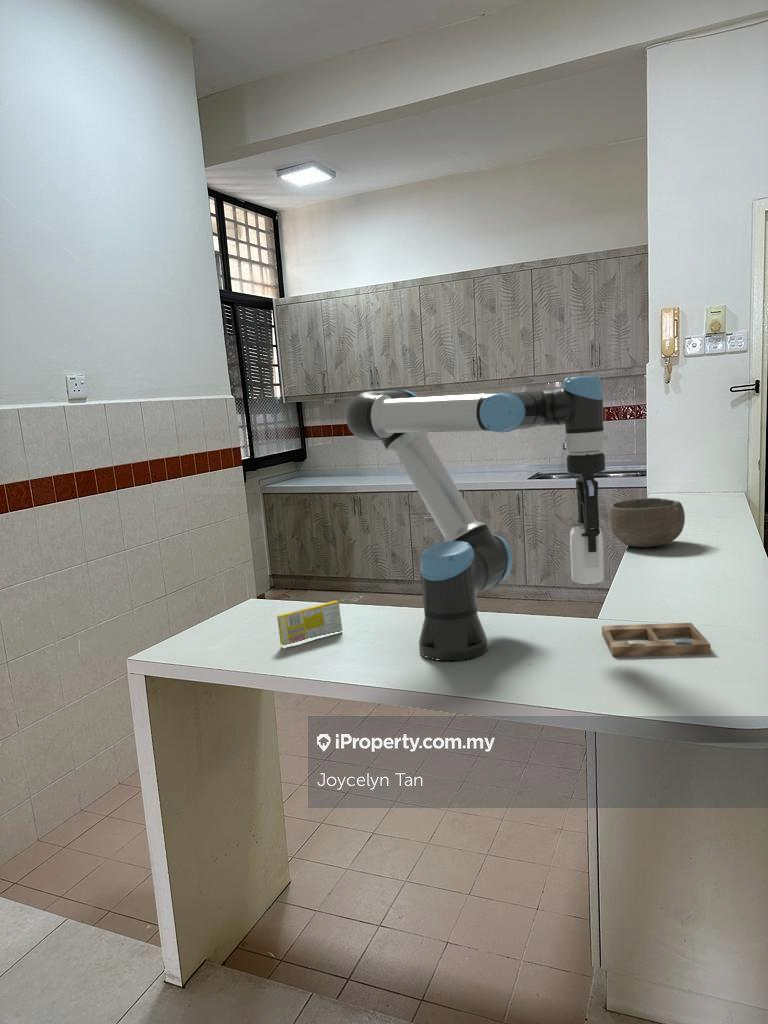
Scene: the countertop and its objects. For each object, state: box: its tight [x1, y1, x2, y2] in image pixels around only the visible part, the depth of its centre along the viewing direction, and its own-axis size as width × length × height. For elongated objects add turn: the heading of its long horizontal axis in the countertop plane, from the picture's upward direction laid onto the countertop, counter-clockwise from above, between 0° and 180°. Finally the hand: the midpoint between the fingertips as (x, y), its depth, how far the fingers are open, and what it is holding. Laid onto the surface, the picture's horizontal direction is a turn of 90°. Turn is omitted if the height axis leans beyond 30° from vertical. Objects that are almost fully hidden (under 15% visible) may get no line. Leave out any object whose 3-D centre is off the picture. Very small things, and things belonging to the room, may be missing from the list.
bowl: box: [608, 497, 686, 548], centre depth 242 cm, size 24×24×15 cm
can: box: [569, 522, 605, 586], centre depth 146 cm, size 6×6×12 cm
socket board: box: [601, 622, 712, 658], centre depth 149 cm, size 19×14×2 cm
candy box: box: [276, 600, 343, 645], centre depth 171 cm, size 16×2×8 cm, turn 123°
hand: (589, 562), depth 147 cm, fingers closed on can, 6 cm apart
